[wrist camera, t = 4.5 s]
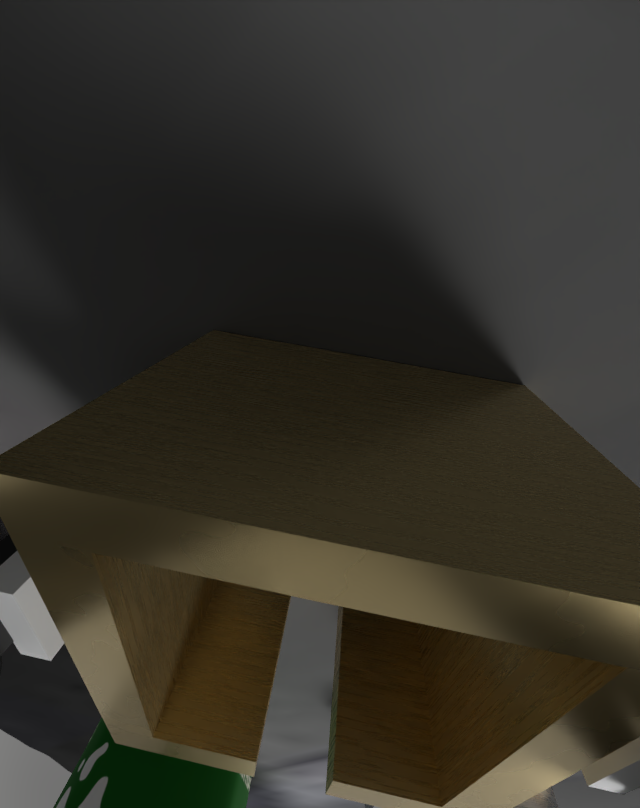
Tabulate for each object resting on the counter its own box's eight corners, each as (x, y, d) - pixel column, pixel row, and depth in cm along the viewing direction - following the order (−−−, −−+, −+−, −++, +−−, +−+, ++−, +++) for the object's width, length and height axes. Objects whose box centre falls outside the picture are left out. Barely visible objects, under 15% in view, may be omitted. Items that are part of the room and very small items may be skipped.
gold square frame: (213, 329, 10) (-24, 468, 4) (524, 385, 10) (810, 641, 3) (218, 534, 15) (115, 742, 9) (426, 578, 14) (473, 829, 8)
